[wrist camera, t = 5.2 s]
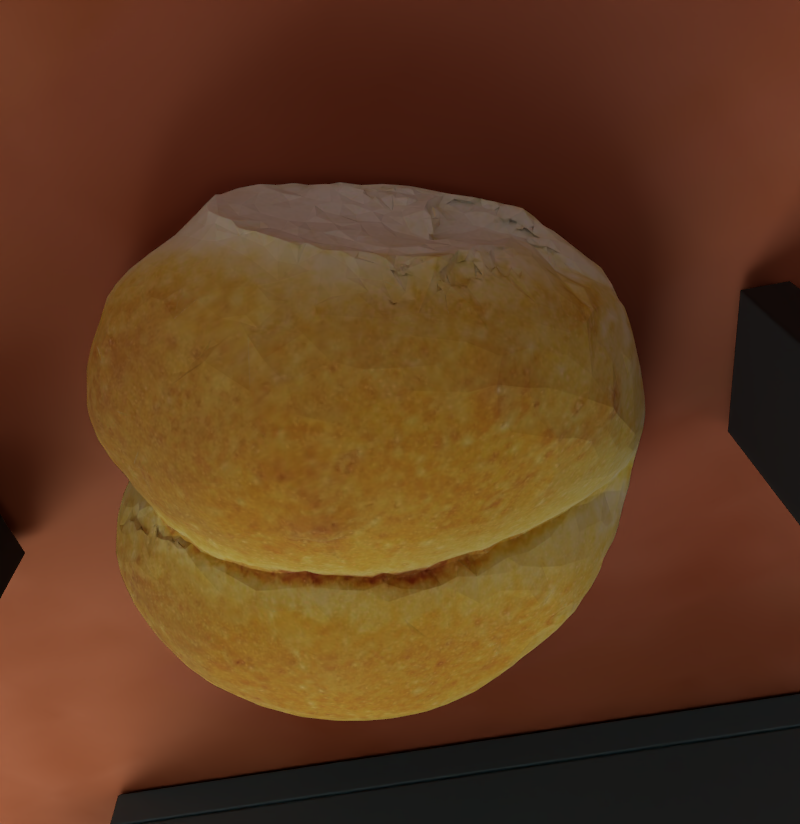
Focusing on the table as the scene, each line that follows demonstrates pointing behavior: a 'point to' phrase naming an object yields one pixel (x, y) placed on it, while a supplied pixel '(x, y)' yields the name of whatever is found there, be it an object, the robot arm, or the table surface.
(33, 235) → the table surface
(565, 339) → the bread roll
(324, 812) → the dark teal hollow box
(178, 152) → the table surface
